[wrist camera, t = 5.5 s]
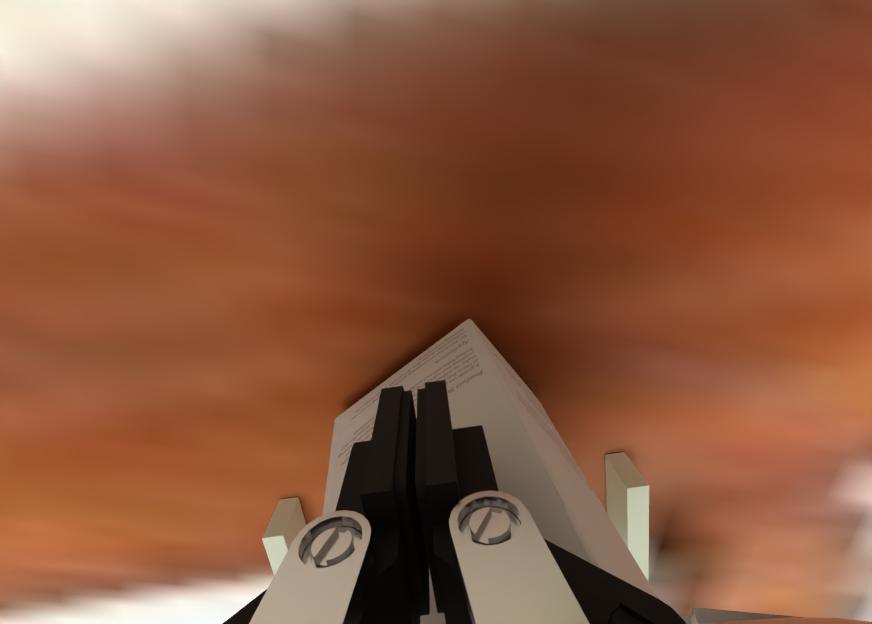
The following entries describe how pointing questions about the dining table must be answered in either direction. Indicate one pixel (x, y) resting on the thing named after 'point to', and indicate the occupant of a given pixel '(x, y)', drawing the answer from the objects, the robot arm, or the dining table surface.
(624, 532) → the open-sided frame
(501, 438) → the skincare box
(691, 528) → the dining table surface
